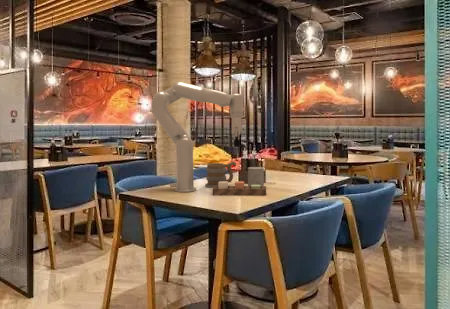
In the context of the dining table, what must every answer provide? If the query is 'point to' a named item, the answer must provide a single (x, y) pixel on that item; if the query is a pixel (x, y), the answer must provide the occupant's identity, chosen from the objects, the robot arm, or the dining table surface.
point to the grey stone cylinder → (256, 176)
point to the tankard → (218, 173)
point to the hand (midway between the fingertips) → (236, 146)
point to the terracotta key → (239, 184)
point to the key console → (239, 191)
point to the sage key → (255, 186)
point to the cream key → (223, 184)
